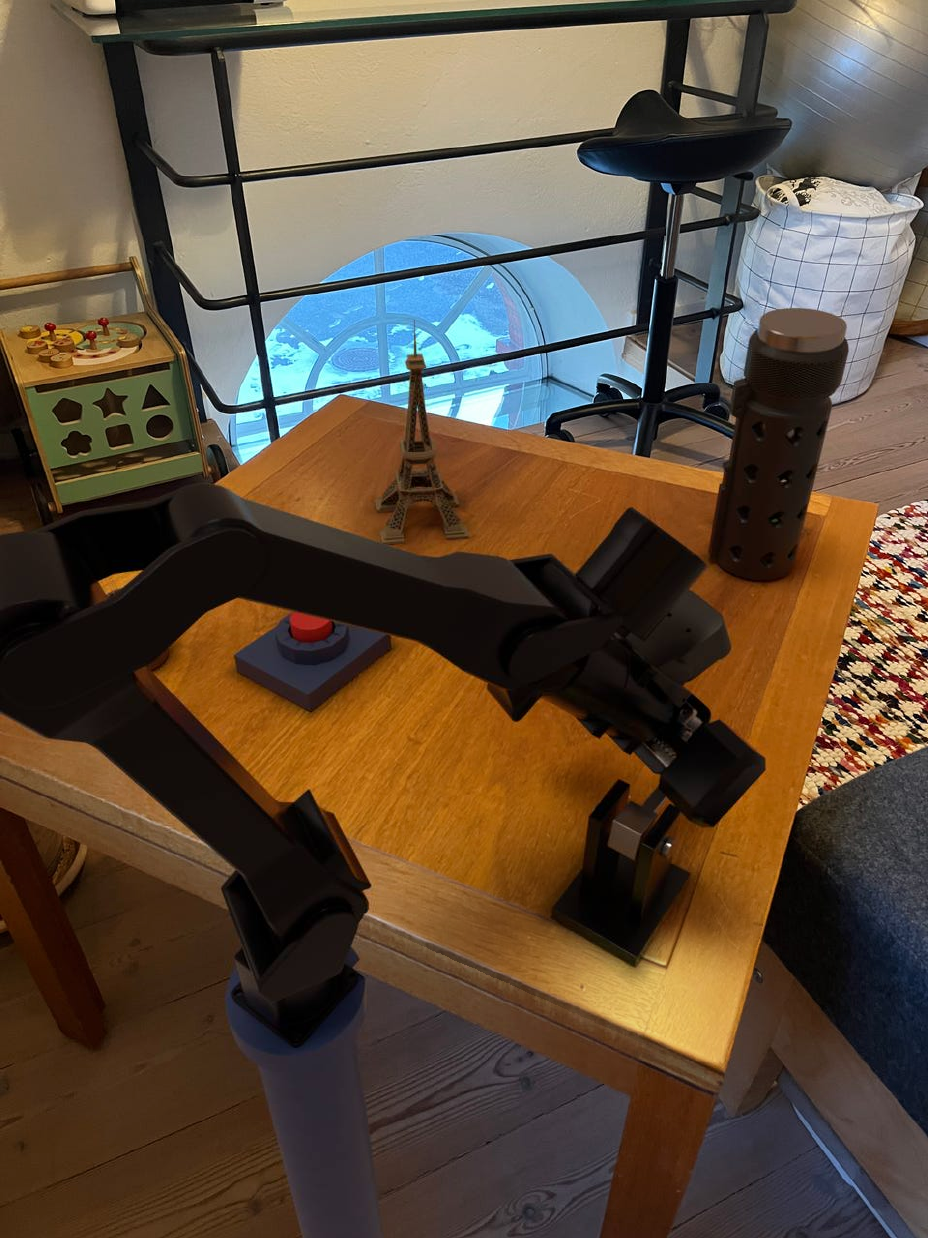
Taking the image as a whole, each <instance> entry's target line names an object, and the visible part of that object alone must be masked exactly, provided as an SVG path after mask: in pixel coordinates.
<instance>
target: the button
mask: <svg viewBox="0 0 928 1238" xmlns="http://www.w3.org/2000/svg"><path fill="white" fill-rule="evenodd" d="M292 612H293V611H292ZM292 612H291V613H292ZM290 626H291V633H292V636H293V638H294V639H295V640H297V641H299V642H304V643H314V642H318V641H322V640H325V639H326V638H328V637H329V636H330V635H331V633H332V621H330V620H326V619H322V618H317V617H313V616H309V615H305V614H301V613H297V612H293V613H292V614H291V616H290Z"/></svg>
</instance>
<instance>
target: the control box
mask: <svg viewBox="0 0 928 1238" xmlns="http://www.w3.org/2000/svg"><path fill="white" fill-rule="evenodd" d="M292 613H293V611H291V612H290V613H288V614H287V615H286V616H285V617H283V618H281V619H280V620H279V622H278V624H276V626H274V627H273V628H271V629H269V630H268V631H267V632H265V633H264V634H262V635H261V636H259V637H258V638H256V639H255V640H253V641H252V642H250V643H249V644H247V645H246V646H245V647H243V648H242V649H240V650H239V651H237V652H235V653H234V654H233V658H234V664H235V667H236V668H235V669H236V672H237V673H238V674H240V675H242V676H243V677H246V678H247V679H248V680H251V681H253V682H255V683H256V684H259V685H260V686H263V687H264V688H266V689H268V690H270V691H271V692H273V693H275V694H277V695H279V696H280V697H282V698H284V699H286V700H287V701H290V702H292V703H293V704H295V705H297V706H299V707H301V708H303V709H304V710H306V711H307V712H313V710H315V709H316V708H318V707H319V706H320V705H322V703H324V702H325V701H326V700H327V699H329V698H331V697H332V695H334V694H335V693H337V692H338V691H339V690H340V689H341V688H343V687H344V686H345V685H347V684H348V683H350V681H352V680H353V679H354V678H355V677H356V676H358V675H359V674H360V673H361V672H363V671H364V670H365V669H367V668H368V667H369V666H370V665H372V664H373V663H374V662H375V661H377V660H378V659H379V658H381V657H382V656H384V655H385V653H387V652H388V651H390V650H391V649H392V636H391V635H387V634H383V633H379V632H375V631H371V630H366V629H362V628H358V627H354V626H350V625H346V624H342V623H338V622H334V621H332V633H331V635H330V636H329V637H328V638H326V639H325V640H322V641H318V642H314V643H304V642H299V641H297V640H295V639H294V638H293V636H292V633H291V626H290V616H291V614H292Z"/></svg>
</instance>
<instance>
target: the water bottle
mask: <svg viewBox="0 0 928 1238" xmlns="http://www.w3.org/2000/svg"><path fill="white" fill-rule="evenodd" d="M847 329H848V325H847V323H846V321H845V320H844V319H843V318H841V317H839V316H838V315H836V314H833V313H831V312H827V311H823V310H819V309H813V308H805V307H789V308H788V307H786V308H785V307H784V308H778V309H773V310H770V311H767V312H765V313H764V314H762V315H761V317H760V318H759V321H758V325H757V328H756V329H755V330H754V331H753V333H752V334H751V336H750V337H749V340H748V344H747V350H746V357H745V362H744V368H743V377H744V378H741V379H738V380H735V381H734V382H733V385H732V391H731V397H730V404H729V410H728V411H729V413H730V415H731V416H732V417H734V418H735V421H734V427H733V434H732V439H731V445H730V451H729V458H728V459H727V460H726V461H724V462H722V469H723V476H722V482H721V483H719V486H718V493H717V497H716V503H715V509H714V515H713V522H712V528H711V534H710V538H709V544H708V551H707V552H708V555H709V557H710V559H712V560H714V561H716V562H717V564H718V565H720V567H721V568H723V570H725V571H727V572H728V573H730V574H731V575H734V576H736V577H739V578H743V579H746V580H752V581H770V580H771V581H772V580H777V579H780V578H783V577H786V576H787V575H788V574H790V573H791V572H792V570H793V569H794V567H795V564H796V558H797V556H798V555H797V554H798V551H799V546H800V542H801V538H802V533H803V532H802V531H804V526H805V521H806V518H807V513H808V508H809V504H810V500H811V496H812V491H813V487H814V485H815V484H814V483H815V480H816V476H817V472H818V468H819V463H820V460H821V459H820V458H821V454H822V451H823V446H824V443H825V438H826V434H827V430H828V425H829V422H830V418H831V413H832V409H833V402H832V401H833V400H832V399H831V397H832V396H833V395H835V393H836V392H837V390H838V389H839V388H840V386H841V384H842V381H843V376H844V372H845V368H846V363H847V360H848V355H849V352H850V350H849V349H850V348H849V344H848V342H849V341H848V340H847V338H846V333H847ZM774 519H777V520H778V521H776V522H773V521H772V520H774ZM737 547H740V549H741V551H740V552H738V549H737ZM766 554H769V559H768V560H764V559H763V557H764V556H765V555H766Z"/></svg>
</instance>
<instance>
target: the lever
mask: <svg viewBox="0 0 928 1238" xmlns="http://www.w3.org/2000/svg"><path fill="white" fill-rule="evenodd" d="M669 802H671V801H670V800H669V799H668V798H667V797H666V796H665V795H664V794H663V793H662V792H661V790H660V789H659V788H658V785H657V786H656V788H655V789H653V791H652V792H651V793H649V796H648V797H647V798H646V799H645V800H644V801H643V802H642V804H638V803H637V802H635V801H633V800H629V801H628V804H627V805H626V806H625V807H624V808H623V810H622V811H621V812H620V813H619V814H618V815H617V816H616V817H615V819H614V820H613V822H612V826H611V831H610V835H609V840H608V844H607V846H608V847H610V848H612V849H614V850H616V851H618V852H620V853H622V854H623V855H625V856H627V857H629V858H631V859H633V860H636V858H637V857H638V856H639V851H640V845H641V842H642V841H643V840H644V838H645V837H646V835H647V834H648V833H649V831H650V830H651V828H652V827H653V826H654V824H655V823H656V821H657V820H658V818H659V814H660V813H661V812H662V810H663V809H665V808H666V806H667V804H669Z"/></svg>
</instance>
